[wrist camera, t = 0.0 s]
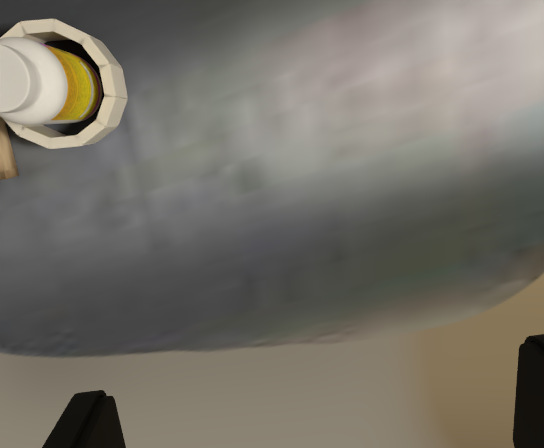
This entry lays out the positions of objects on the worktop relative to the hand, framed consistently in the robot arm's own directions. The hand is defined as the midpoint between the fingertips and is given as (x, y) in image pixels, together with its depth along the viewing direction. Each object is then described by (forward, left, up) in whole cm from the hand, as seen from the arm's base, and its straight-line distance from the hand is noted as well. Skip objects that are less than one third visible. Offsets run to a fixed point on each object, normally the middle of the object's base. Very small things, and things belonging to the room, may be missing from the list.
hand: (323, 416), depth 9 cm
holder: (-11, -18, -37) cm, 42 cm away
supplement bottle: (-11, -18, -37) cm, 43 cm away
